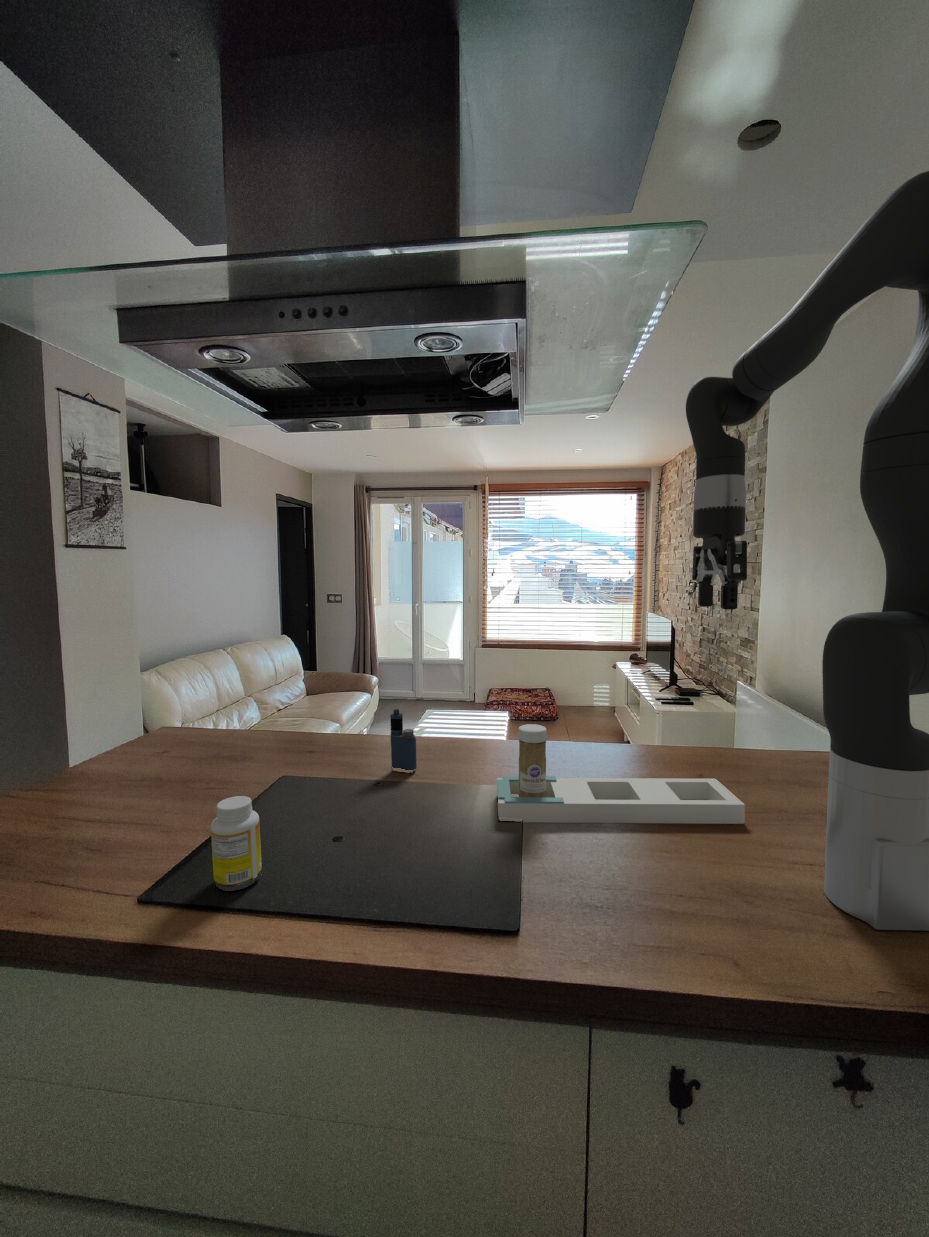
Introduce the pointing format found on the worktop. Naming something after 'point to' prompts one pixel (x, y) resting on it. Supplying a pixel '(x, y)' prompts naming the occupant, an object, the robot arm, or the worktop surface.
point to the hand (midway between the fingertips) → (716, 607)
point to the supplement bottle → (235, 842)
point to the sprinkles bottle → (532, 760)
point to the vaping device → (402, 744)
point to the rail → (622, 801)
